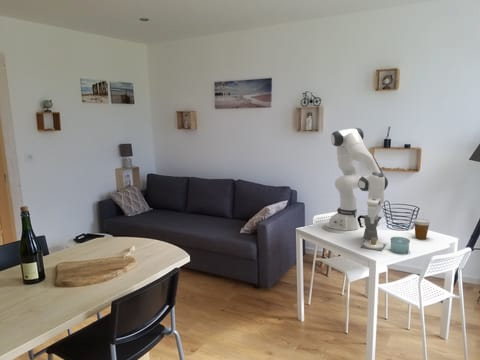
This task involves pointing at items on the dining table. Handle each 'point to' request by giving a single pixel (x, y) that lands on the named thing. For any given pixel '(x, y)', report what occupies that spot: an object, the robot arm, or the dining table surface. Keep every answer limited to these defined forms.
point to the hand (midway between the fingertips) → (374, 221)
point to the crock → (400, 245)
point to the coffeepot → (369, 227)
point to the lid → (373, 244)
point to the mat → (371, 248)
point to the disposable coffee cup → (421, 228)
